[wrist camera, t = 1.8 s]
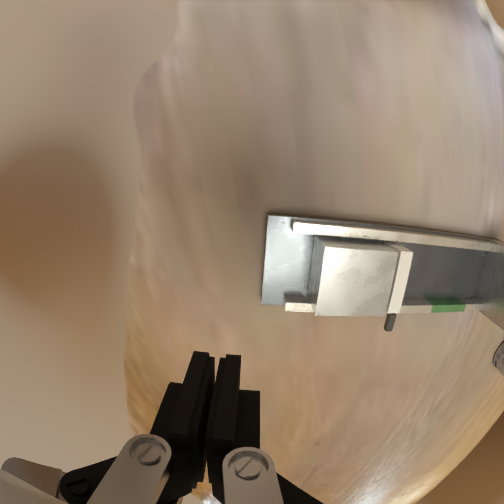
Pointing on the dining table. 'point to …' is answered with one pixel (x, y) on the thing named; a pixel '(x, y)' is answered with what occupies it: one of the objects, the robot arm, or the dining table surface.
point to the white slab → (397, 282)
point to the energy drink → (499, 358)
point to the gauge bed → (421, 270)
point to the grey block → (350, 276)
